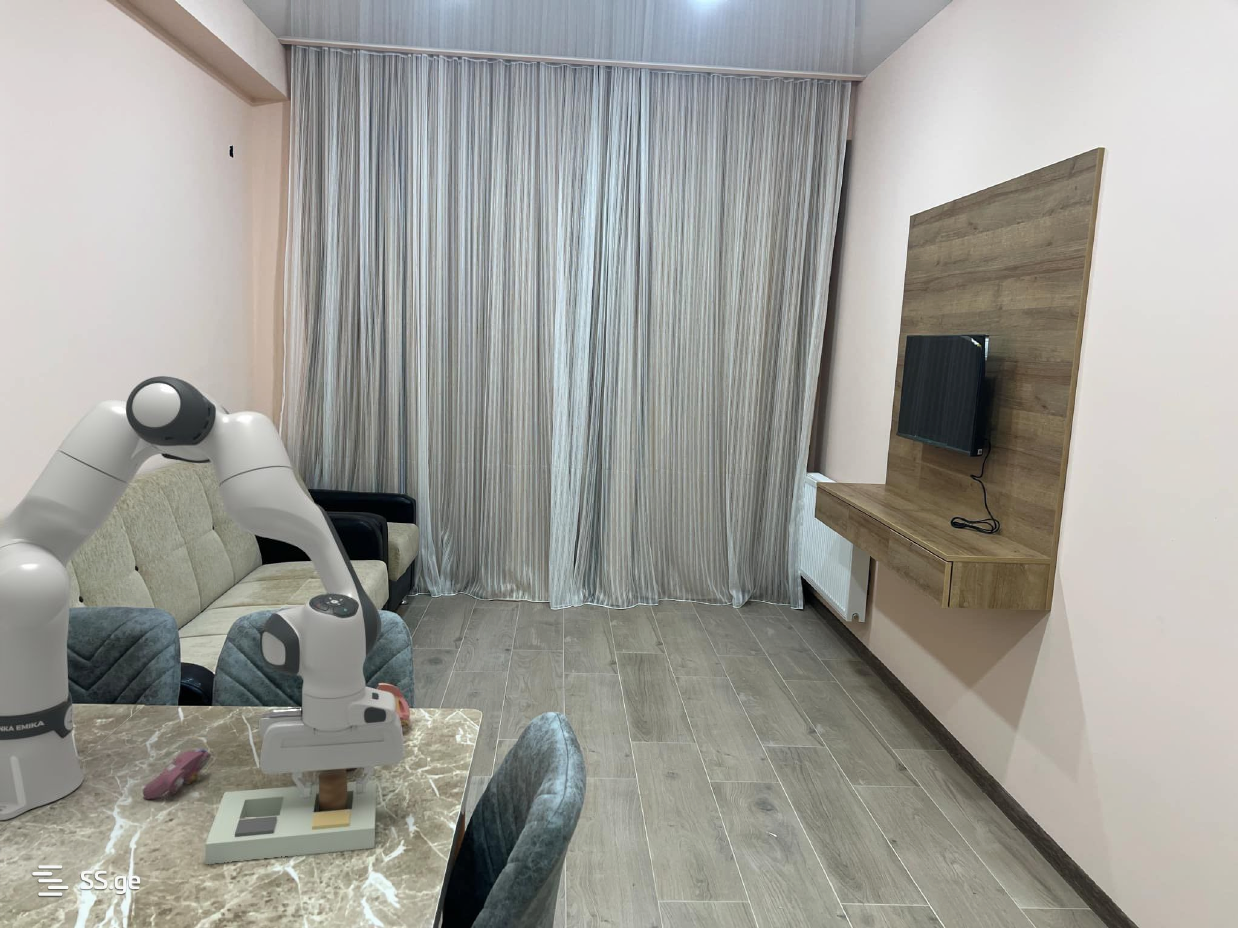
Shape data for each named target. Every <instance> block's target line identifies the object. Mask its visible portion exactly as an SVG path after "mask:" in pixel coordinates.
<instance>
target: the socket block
mask: <svg viewBox="0 0 1238 928" xmlns="http://www.w3.org/2000/svg"><path fill="white" fill-rule="evenodd" d="M311 789H312V793H311V798H305V799H300V789H299V788H298V786H297V785H296V786H286V787H274V788H273V787H272V788H261V789H248V790H246V789H245V790H236V791H225V792H224V794H223V795H222V798H221V800H220V803H219V806H218V809H217V812H216V815H215V818H214V820H213V823H212V826H211V828H210V831H209V834H208V836H207V839H206V842H205V844H204V847H205V865H206V864H207V865H208V864H209V865H216V864H215V863H219V864H227V862H229V863H233V862H232V861H239V860H240V861H239V862H245V861H244V860H249V861H251V860H250V859H259V860H265V859H264V858H268V859H275V858H274V857H278V858H286V857H285V856H288V857H297V856H306V855H316V854H326V853H327V854H329V853H335V852H347V851H356V850H366V849H375V844H376V843H375V841H376V839H375V838H376V816H377V815H376V813H377V812H376V810H377V807H376V806H377V780H376V779H372V780H371V779H369V781H368V782H367V783H366V793H364V794H363V793H362V794H356V781H347V809H346V810H335V811H324V812H319V784H312V787H311ZM245 817H256V818H245ZM296 855H297V856H296ZM281 856H282V857H281ZM224 862H225V863H224ZM207 865H206V866H207Z"/></svg>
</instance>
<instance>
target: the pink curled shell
mask: <svg viewBox="0 0 1238 928" xmlns="http://www.w3.org/2000/svg"><path fill="white" fill-rule="evenodd" d="M376 689H378V690H382V691H386V692H390V693H392V694H393V695H394V698H395V702H396V712H397V714H398V715H399V717H400V721H401V726H403V725H409V724H410V717H411V715H410V714H411V711H410V706H409V703H408V702H407V701H406V699H405V698H404V696H403V694H402V690H400V688H398V687H396V686H395V685H393V684H390V683H385V682H379V683H378V686H377V688H376Z"/></svg>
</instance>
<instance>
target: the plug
mask: <svg viewBox="0 0 1238 928" xmlns="http://www.w3.org/2000/svg"><path fill="white" fill-rule="evenodd" d="M347 782H348V771H345V770H343V769H332V770H323V771H322V772H321V773H320V774H319V775H318V785H319V812H324V811H335V810H346V809H347Z"/></svg>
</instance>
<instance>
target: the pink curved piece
mask: <svg viewBox="0 0 1238 928" xmlns="http://www.w3.org/2000/svg"><path fill="white" fill-rule="evenodd" d="M210 759H211V753H210V752H208V751H207V750H206V749H203V748H199V747H198V746H196V747H195V748H194V749H192V750H188V751H187V750H186V751H184V752H182V753H179V754H178V755H177V756H176V757H175V758H174V760H173V761H172V762H171V763H170V764H169V765H168V766H166V767H165V769H163V770H162V771H161V772H160V773H159V775H157V777H155V778H154V779H152V780H151V781H150V782H149V783H147V784H146V785H145V786H144V788H143V791H142V795H143V797H144V798H145V799H146V800H155V799H158V798H159V797H162V796H163V795H165V794H166V793H168V792H169V793H171V794H172V795H174V794H175V792H176V793H177V792H178V791H180V789H181V788H182V787H183V784H184V783H185V784H186V785H188V783H189V784H190V783H192V781H194V780H195V779H196V777H197V775H198V774H199V772H200V771H201V770H202V769H203V768H204V767H205V766H206V765H207V764H208V763H209V760H210Z"/></svg>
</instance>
